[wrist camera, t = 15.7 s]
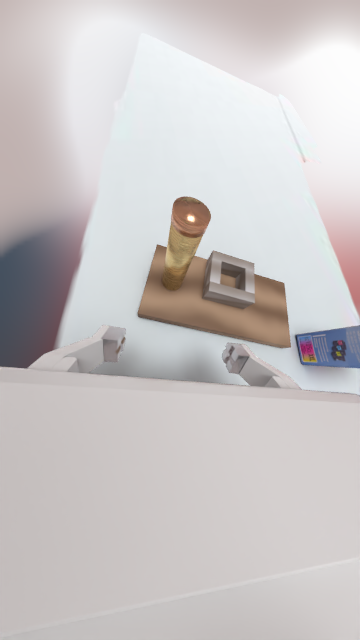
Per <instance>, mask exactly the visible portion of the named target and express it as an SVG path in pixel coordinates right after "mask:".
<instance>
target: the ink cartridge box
mask: <svg viewBox="0 0 360 640" xmlns="http://www.w3.org/2000/svg"><path fill="white" fill-rule="evenodd" d="M296 336H297V341H298V347H299V352H300V358H301V363H302V364H303V365H316V366H330V367H345V368H360V325H359V326H352V327H345V328H339V329H332V330H325V331H318V332H311V333H304V334H297V335H296Z"/></svg>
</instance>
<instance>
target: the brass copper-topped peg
mask: <svg viewBox="0 0 360 640" xmlns="http://www.w3.org/2000/svg"><path fill="white" fill-rule="evenodd" d="M210 219H211V214H210V211H209V209H208V208H207V207H206V205H204V204H203V203H202V202H201V201H199V200H197V199H195V198H192V197H180V198H178V199H176V200H175V202H174V204H173V209H172V216H171V226H170V232H169V239H168V245H167V251H166V258H165V264H164V270H163V277H162V284H163V286H164V287H165V288H166V289H168V290H171V291H175V290H178V289H179V288H180V287H181V285H182V283H183V280H184V278H185V276H186V273H187V271H188V269H189V266H190V264H191V262H192V259H193V257H194V255H195V253H196V250H197V248H198V246H199V243H200V241H201V239H202V236H203V234H204V233H205V231H206V228H207V226H208V224H209V222H210Z"/></svg>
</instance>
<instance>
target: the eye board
mask: <svg viewBox="0 0 360 640" xmlns="http://www.w3.org/2000/svg"><path fill="white" fill-rule="evenodd" d="M166 251H167V247H164V246H161V245H157V247H156V251H155V254H154V258H153V261H152V265H151V268H150V272H149V275H148V279H147V282H146V286H145V289H144V293H143V296H142V300H141V303H140V307H139V310H138V317H141V318H146V319H151V320H155V321H160V322H164V323H169V324H174V325H178V326H183V327H187V328H192V329H197V330H201V331H206V332H210V333H215V334H220V335H224V336H229V337H233V338H238V339H243V340H247V341H252V342H257V343H261V344H266V345H270V346H275V347H280V348H289V347H291V343H290V334H289V324H288V315H287V305H286V296H285V286H284V283H282V282H279V281H275V280H272V279H269V278H266V277H262V276H259V275H256V274H254V263H251V262H248V261H245V260H242V259H239V258H235V257H232V256H229V255H226V254H223V253H220V252H217V251H213V252H212V253H211V255H210V257H209V259H208V260H207V259H203V258H200V257H197V256H194V257H193V259H192V262H191V264H190V266H189V269H188V271H187V273H186V276H185V278H184V280H183V283H182V285H181V287H180V288H179V289H178V290H175V291H171V290H168V289H166V288H165V287H164V286H163V284H162V277H163V270H164V264H165V258H166Z"/></svg>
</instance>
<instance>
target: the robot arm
mask: <svg viewBox="0 0 360 640" xmlns="http://www.w3.org/2000/svg"><path fill="white" fill-rule="evenodd" d="M125 334H126V329H125V328H120V327H113V326H106V325H102V326H101V327H100V328H99V329H98V331H97V332H96V333H95V334H94V335H93V336H92V337H91V338H86V339H83V340H81V341H78V342H75V343H72V344H70V345H67V346H64V347H62V348H59V349H56V350H54V351H51V352H48V353H46V354H44V355H42V356H41V357H40V358H39V359H38V360H37V361H35V362H34V363H33V364H32V365H30V366H29V367H28V368H27V369H23V368H10V367H0V640H360V396H359V395H357V394H351V393H339V392H325V391H312V390H302V389H301V388H300V387H299V386H298V385H297V384H296V383H295V382H294V381H293V380H292V379H291V378H290V377H289V376H287V375H286V374H284V373H282V372H281V371H279V370H278V369H276V368H274V367H273V366H271V365H270V364H268V363H266V362H265V361H263V360H261V359H260V358H257V357H256V356H255V355H254V353H253V352H252V351H251V350H250V349H249V348H248V346H247V345H245V344H236V343H227V344H226V346H225V347H226V349H225V350H224V351H223V353H222V359H223V362H224V363H226V368H227V369H228V371H229V373H236V374H239V375H240V376H241V377H242V378H243V379H244V380H245V381H246V382H247V383H248V384H249V385H250V386H246V385H233V384H220V383H207V382H193V381H180V380H167V379H154V378H141V377H128V376H115V375H102V374H89V372H91V371H92V370H94V369H95V368H96V367H98V366H99V365H101V364H102V363H103V362H104V361H105V362H118V360H119V358H120V356H121V352H122V351H123V349H124V346H125V337H124V336H125Z"/></svg>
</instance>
